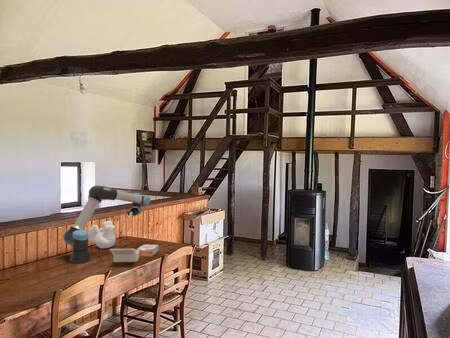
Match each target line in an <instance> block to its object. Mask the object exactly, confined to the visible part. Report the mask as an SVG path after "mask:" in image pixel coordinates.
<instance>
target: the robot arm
mask: <svg viewBox="0 0 450 338" xmlns="http://www.w3.org/2000/svg"><path fill="white" fill-rule="evenodd" d="M87 199H88V200H87V202H86V203H85V205H84V207H83V208H82V210H81V211H80V214H79V215H78V218H77V219H76V221H74V224H73V225H71V226H70V227H69V229H68V230H65V231H64V233H63V237H62V239H63V241H64V243H65V244H67V245H69V246H72V252H71V255H70V258H69V262H70V264H71V263H72V264H83V263H88V262H90V261H91V258H92V257H91V254H90V251H89V239H88V237H89V236H88V231H87V230H84V229H85V228H86V226H87V224H88V223H89V221H90V219H91V217H92V215H93V213H94V212H95V210H96V208H97V206H98V205H100V204H102V201H115V200H117V201H122V202H127V203H128V202H129V203H132V207H131V208H130V210H126V215H128V216H129V217H133V216H134V217H135V216H137V215H140V214H141V211H142V206H141V205H145V206H146V205H149V204H151V198H150V196H147V195H142V194H141V193H140V192H135V193H130V192H126V191H121V190H120V191H119V190H117V189H116V188H111V187H109V186H105V185H97V184H96V185H93V186H91V187H90V188H89V189H88V195H87Z"/></svg>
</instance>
